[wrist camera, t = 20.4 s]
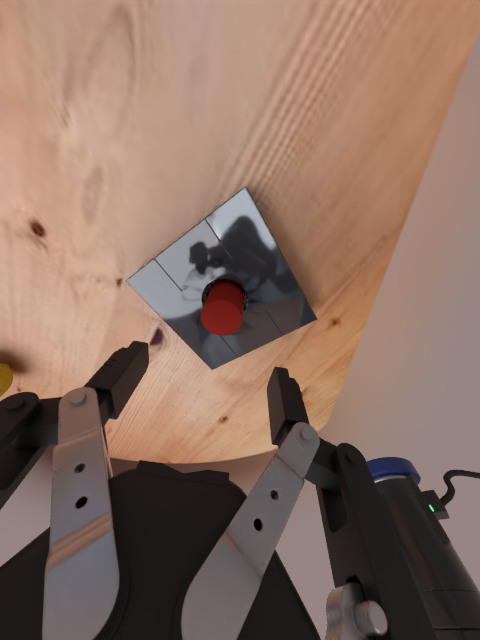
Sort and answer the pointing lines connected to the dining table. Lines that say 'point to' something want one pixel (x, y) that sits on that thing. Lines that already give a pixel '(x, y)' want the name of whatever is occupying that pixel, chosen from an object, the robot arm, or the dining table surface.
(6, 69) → the dining table surface
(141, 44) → the dining table surface
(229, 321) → the stopper
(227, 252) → the grey square base
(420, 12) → the dining table surface
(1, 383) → the lemon
